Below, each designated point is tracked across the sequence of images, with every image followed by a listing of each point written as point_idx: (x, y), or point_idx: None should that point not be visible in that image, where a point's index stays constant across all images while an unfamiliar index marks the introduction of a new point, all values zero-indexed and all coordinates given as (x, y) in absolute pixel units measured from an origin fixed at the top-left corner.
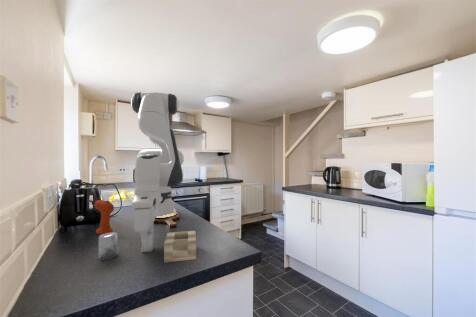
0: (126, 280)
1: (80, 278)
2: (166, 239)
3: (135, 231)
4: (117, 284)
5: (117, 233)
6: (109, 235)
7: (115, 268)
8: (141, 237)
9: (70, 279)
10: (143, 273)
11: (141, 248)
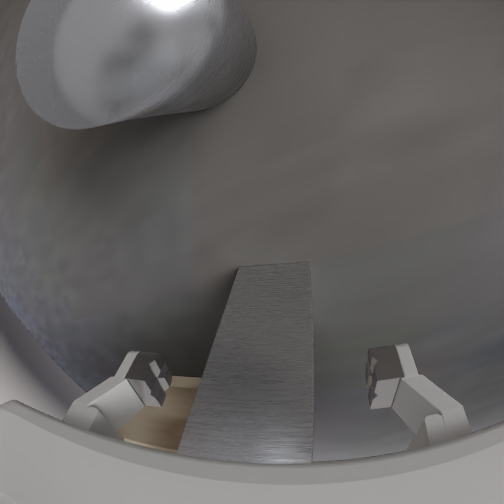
0: (28, 279)
1: (5, 103)
2: (157, 448)
3: (4, 403)
4: (11, 260)
5: (154, 85)
6: (84, 30)
7: (62, 199)
8: (116, 377)
9: (2, 71)
10: (67, 319)
11: (234, 282)
